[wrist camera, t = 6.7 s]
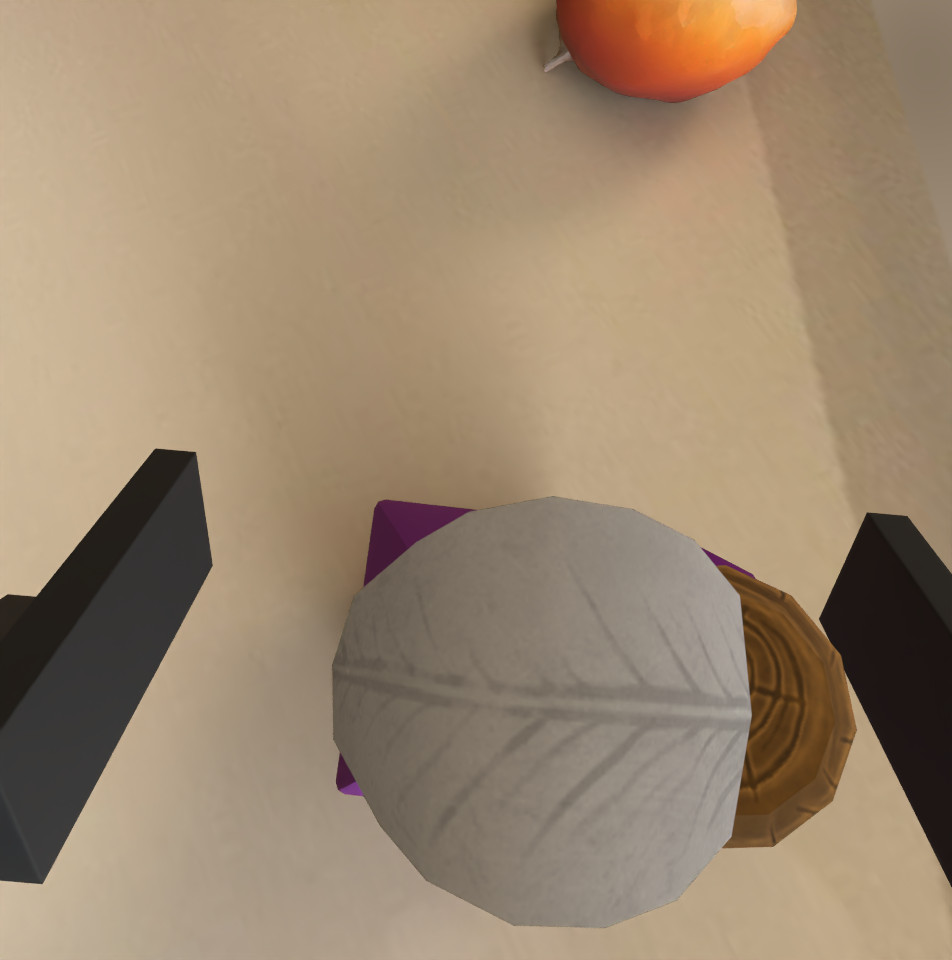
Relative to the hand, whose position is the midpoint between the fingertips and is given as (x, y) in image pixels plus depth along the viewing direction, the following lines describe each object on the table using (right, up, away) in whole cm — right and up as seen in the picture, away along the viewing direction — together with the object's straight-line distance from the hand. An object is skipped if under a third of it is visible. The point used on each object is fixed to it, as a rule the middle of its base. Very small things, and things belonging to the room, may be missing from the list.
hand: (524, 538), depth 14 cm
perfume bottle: (0, -4, +8) cm, 9 cm away
